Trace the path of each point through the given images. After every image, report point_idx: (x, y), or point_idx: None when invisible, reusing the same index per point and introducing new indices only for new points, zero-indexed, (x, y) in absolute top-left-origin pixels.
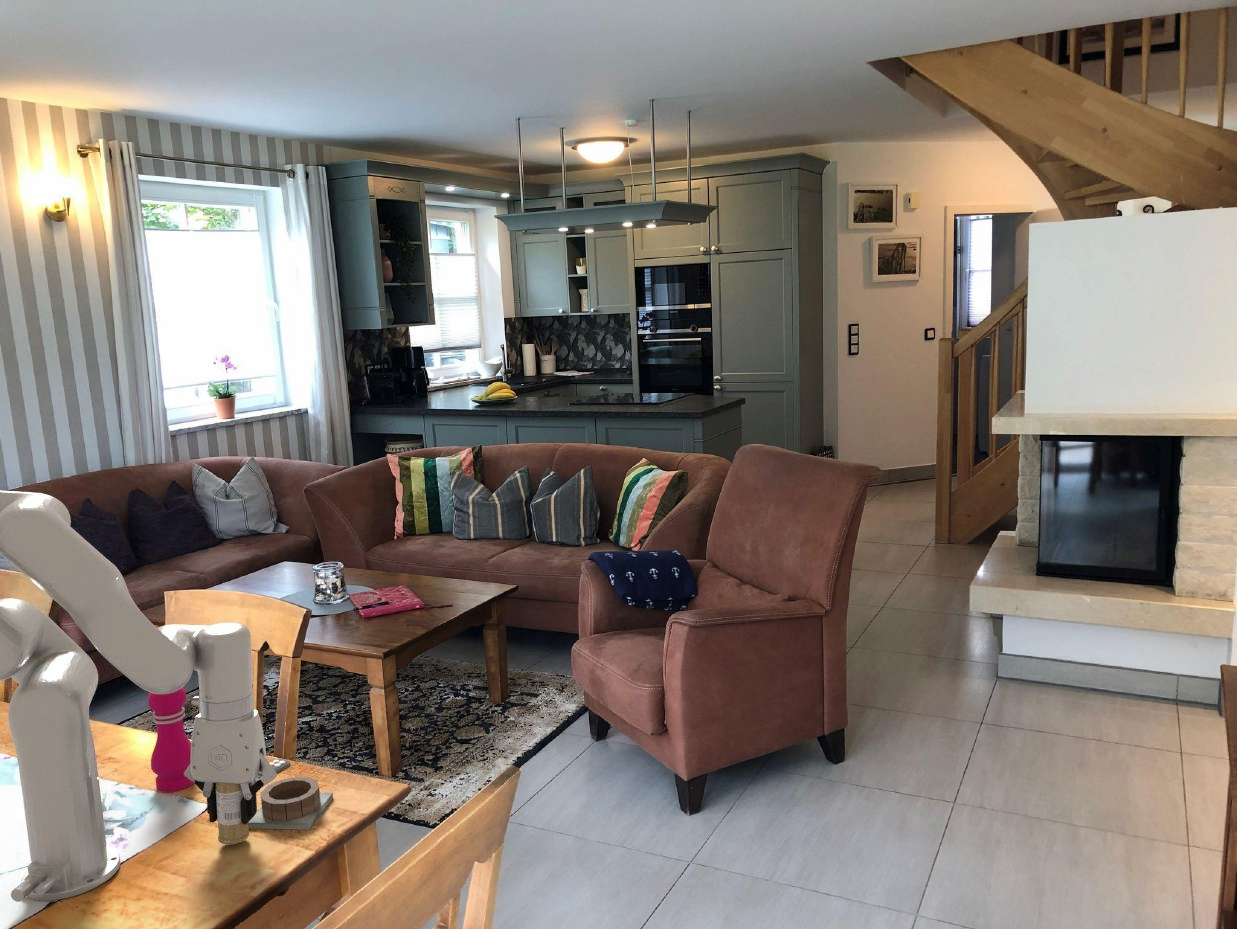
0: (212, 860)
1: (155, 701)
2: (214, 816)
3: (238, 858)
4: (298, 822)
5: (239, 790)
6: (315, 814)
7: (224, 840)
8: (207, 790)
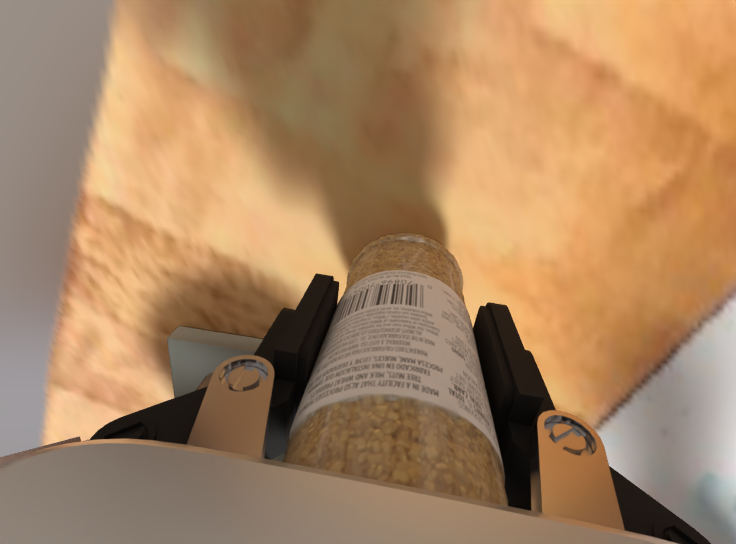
0: (455, 165)
1: None
2: (484, 322)
3: (353, 169)
4: (206, 349)
5: (301, 424)
6: (173, 385)
7: (424, 243)
8: (570, 458)
